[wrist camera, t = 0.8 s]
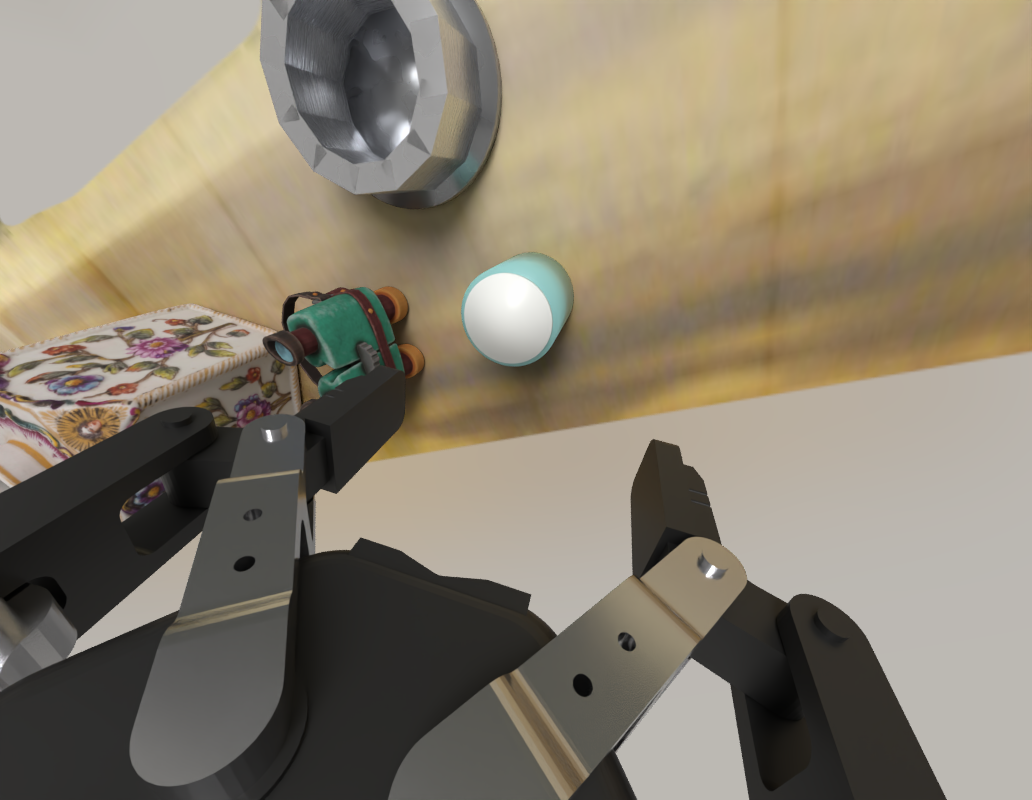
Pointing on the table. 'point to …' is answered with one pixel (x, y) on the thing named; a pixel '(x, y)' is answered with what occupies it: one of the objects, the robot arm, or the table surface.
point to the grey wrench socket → (385, 92)
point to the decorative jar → (134, 385)
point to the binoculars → (343, 335)
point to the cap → (517, 308)
